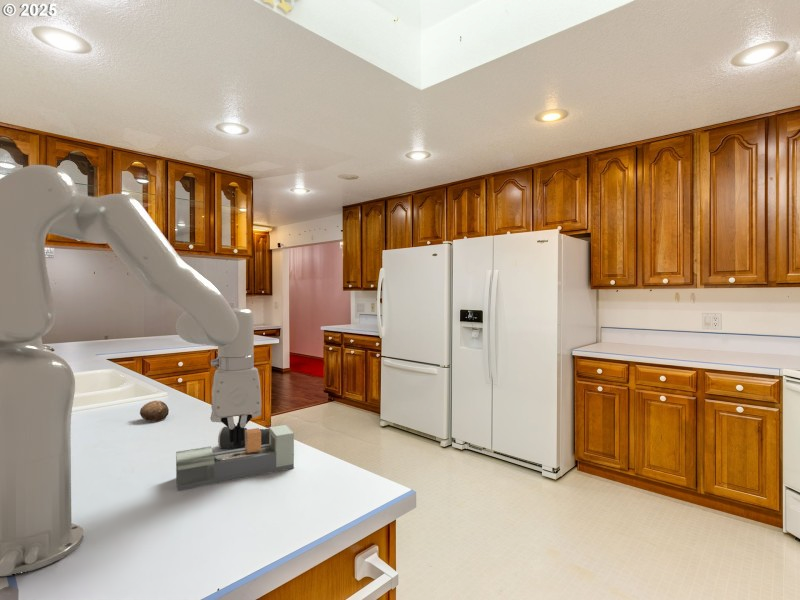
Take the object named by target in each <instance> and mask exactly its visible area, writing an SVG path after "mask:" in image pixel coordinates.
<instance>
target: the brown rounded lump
mask: <svg viewBox="0 0 800 600" xmlns="http://www.w3.org/2000/svg"><path fill="white" fill-rule="evenodd" d="M169 410H170V409H169V406H168V405H167V404H166V403H165V402H164V401H161V400H152V401H148V402H147V403H145V404H144V405H143V406H141V408H140V411H139V415H140V417H141V418H142V419H143V420H145V422H150V423H157V422H161V421H163V420H166V418H167V417H168V415H169Z"/></svg>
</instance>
